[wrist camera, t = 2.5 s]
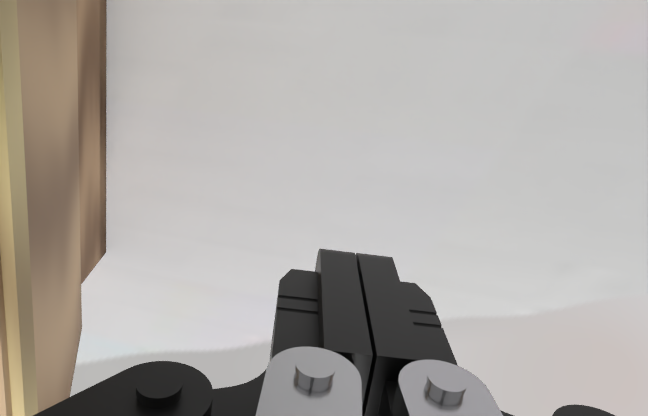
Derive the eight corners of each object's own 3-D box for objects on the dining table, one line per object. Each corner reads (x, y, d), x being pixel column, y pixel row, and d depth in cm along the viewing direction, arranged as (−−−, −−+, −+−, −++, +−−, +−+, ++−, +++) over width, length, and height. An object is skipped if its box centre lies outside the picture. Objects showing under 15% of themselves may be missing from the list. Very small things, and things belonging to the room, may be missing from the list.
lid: (-141, -360, 6) (-31, -329, 6) (44, -151, 16) (81, -144, 17) (-18, 657, 12) (35, 647, 12) (60, 329, 22) (87, 328, 23)
